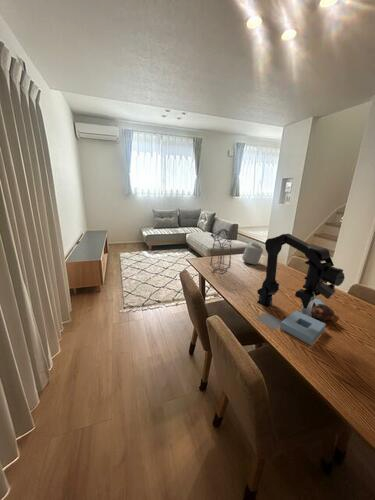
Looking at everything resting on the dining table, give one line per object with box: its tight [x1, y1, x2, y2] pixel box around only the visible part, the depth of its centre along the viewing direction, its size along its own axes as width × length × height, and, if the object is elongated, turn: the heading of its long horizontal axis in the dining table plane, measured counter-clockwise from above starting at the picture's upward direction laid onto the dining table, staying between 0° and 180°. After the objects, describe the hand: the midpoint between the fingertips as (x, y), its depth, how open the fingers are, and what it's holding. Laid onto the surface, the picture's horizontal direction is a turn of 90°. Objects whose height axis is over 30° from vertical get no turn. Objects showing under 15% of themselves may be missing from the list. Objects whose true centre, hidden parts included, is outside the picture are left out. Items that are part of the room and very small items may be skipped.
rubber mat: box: [256, 312, 283, 330], centre depth 104 cm, size 10×10×1 cm
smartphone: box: [314, 297, 327, 306], centre depth 120 cm, size 7×1×15 cm
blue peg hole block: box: [279, 310, 327, 346], centre depth 98 cm, size 14×16×4 cm
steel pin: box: [300, 293, 316, 316], centre depth 94 cm, size 4×4×10 cm
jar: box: [241, 241, 264, 266], centre depth 182 cm, size 19×15×25 cm
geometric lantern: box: [209, 228, 237, 274], centre depth 161 cm, size 16×16×35 cm
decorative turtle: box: [310, 302, 340, 323], centre depth 107 cm, size 10×15×8 cm, turn 51°
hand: (307, 306), depth 95 cm, fingers closed on steel pin, 4 cm apart
